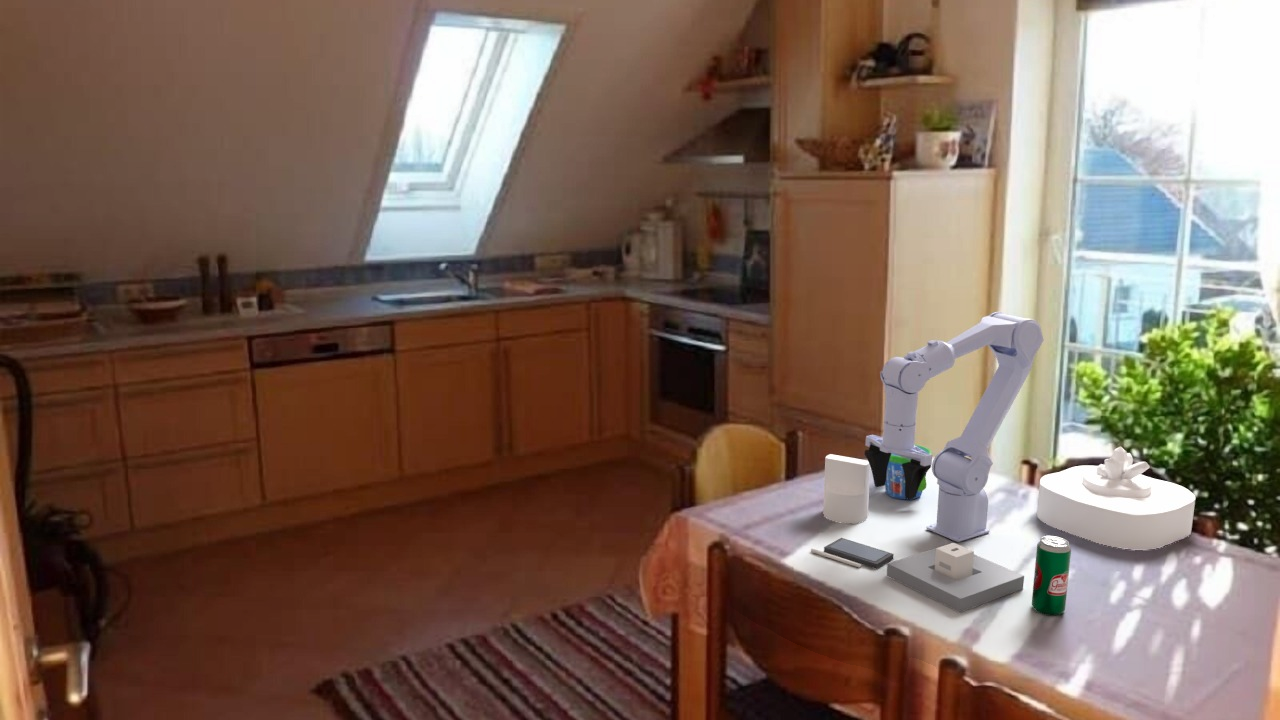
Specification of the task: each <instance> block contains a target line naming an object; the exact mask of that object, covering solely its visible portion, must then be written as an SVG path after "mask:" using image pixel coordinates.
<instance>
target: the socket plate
mask: <svg viewBox="0 0 1280 720" xmlns="http://www.w3.org/2000/svg"><path fill="white" fill-rule="evenodd" d="M948 544H949V543H948ZM948 544H944V545H942V546H945V545H948ZM942 546H941V545H940V546H938V547H935V548H931V549H929V550H926V551H922V552H918V553H916V554H913V555H910V556H909V555H908V556H906V557H903V558H899V559H896V560H894V561H893V560H892V561H889V562H888V563H886V564H887V565H886V577H888V578H890V579H891V580H894V581H896V582H898V583H900V584H902V585H904V586H906V587H908V588H910V589H912V590H914V591H916V592H918V593H920V594H922V595H923V596H925V597H928V598H930V599H932V600H934V601H936V602H938V603H940V604H942V605H944V606H946V607H948V608H950V609H952V610H954V611H956V612H958V613H962V612H964V611H968V610H969V609H972V608H975V607H978V606H980V605H983V604H986V603H989V602H991V601H994V600H996V599H1000V598H1002V597H1005V596H1007V595H1010V594H1013V593H1015V592H1019V591H1022V590H1023V589H1024V583H1025V582H1024V581H1025V575H1023V574H1021V573H1018V572H1016V571H1014V570H1011V569H1009V568H1006V567H1004V566H1002V565H1000V564H998V563H995V562H993V561H990V560H989V559H986V558H984V557H981V556H979V555H977V554H975V553H974V557H973V570H972V576H969V577H966V578H964V579H961V580H958V581H957V580H954V579H952V578H950V577H948V576H946V575H944V574H942V573H939V572H937V571H935V557H936V548H939V547H942ZM1018 590H1019V591H1018Z"/></svg>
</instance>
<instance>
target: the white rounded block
mask: <svg viewBox="0 0 1280 720" xmlns="http://www.w3.org/2000/svg"><path fill="white" fill-rule="evenodd" d="M824 464H825V465H824V482H823V505H822V507H823V508H822V515H823V514H824V516H825V517H827V518H828V519H830V520H829V521H831V520H832V521H831V522H834V521H837V522H836V523H838V522H841V523H840V524H846V523H854V524H859V522H860V523H863V522H865V521H867V520H866V519H868V518H869V517H868V516H869V501H870V500H869V495H870V479H871V478H870V477H871V467H870V464H869V462H868V460H866V459H860V458H855V457H851V456H850V457H849V456H844V455H837V454H833V453H829V454H827V455H826V456H825V459H824ZM824 516H823V517H824ZM825 517H824V518H825ZM827 518H826V519H827ZM828 519H827V520H828ZM862 521H863V522H862Z"/></svg>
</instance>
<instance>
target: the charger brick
mask: <svg viewBox="0 0 1280 720" xmlns="http://www.w3.org/2000/svg"><path fill="white" fill-rule="evenodd" d="M944 545H945V546H944ZM944 545H942V547H941V546H938V547H939V548H938V547H935V548H936V557H935V571H937V572H939V573H942V574H944V575H946V576H948V577H950V578H952V579H954V580H957V581H958V580H961V579H964V578H966V577H969V576H972V570H973V557H974V554H975V551H974V550H972V549H969V548H968V547H964V546H963V545H960V544H958V543H956V542H951V543H948V545H947V544H944Z"/></svg>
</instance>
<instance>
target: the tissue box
mask: <svg viewBox="0 0 1280 720" xmlns="http://www.w3.org/2000/svg"><path fill="white" fill-rule="evenodd" d="M1148 469H1150V465H1149V464H1148V462H1146V461H1139V462H1135V463H1134V459H1133V456H1132V454H1131V453H1130V452H1127V450H1125V449H1124V448H1123V447H1122V446H1119V447H1117V448H1115V449H1114V450H1113V451H1112V454H1111V455H1110V458H1106V459H1104V463H1103V464H1102V463H1100V464H1099V465H1078V466H1072V467H1069V468H1067V469H1063V470H1061V471H1059V472H1053V473H1048V474H1044V475H1043V476H1042V477H1041V478H1040V480H1039V487H1038V488H1039V489H1038V497H1037V498H1038V499H1037V509H1036V517H1037V518H1038V519H1039V520H1040V521H1041V522H1042V523H1044V524H1045V523H1046V525H1047V526H1049V527H1051V528H1054V529H1056V528H1057V530H1060V531H1061V530H1062V532H1064V531H1065V532H1064V533H1067V532H1068V534H1070V535H1072V534H1073V535H1072V536H1075V535H1076V537H1078V536H1079V537H1078V538H1081V537H1082V538H1081V539H1083V538H1085V539H1084V540H1086V539H1088V540H1087V541H1089V540H1091V541H1090V542H1092V541H1093V542H1092V543H1094V542H1096V543H1095V544H1097V543H1099V544H1098V545H1101V544H1103V545H1102V546H1104V545H1107V546H1106V547H1108V546H1113V547H1121V548H1128V549H1152V548H1157V547H1160V546H1163V545H1166V544H1168V543H1170V542H1172V541H1174V540H1177V539H1178V538H1180V537H1183V536H1185V535H1189V534H1190V535H1192V534H1191V533H1192V528H1193V519H1194V512H1195V511H1194V510H1195V505H1196V495H1195V494H1194V493H1193V492H1192V491H1191V490H1189V489H1188V488H1186V487H1184V486H1182V485H1179V484H1177V483H1175V482H1170V481H1166V480H1161V479H1157V478H1153V477H1151V476H1146V475H1144V474H1143V473H1144V472H1146V471H1147V470H1148ZM1113 547H1112V548H1113Z"/></svg>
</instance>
